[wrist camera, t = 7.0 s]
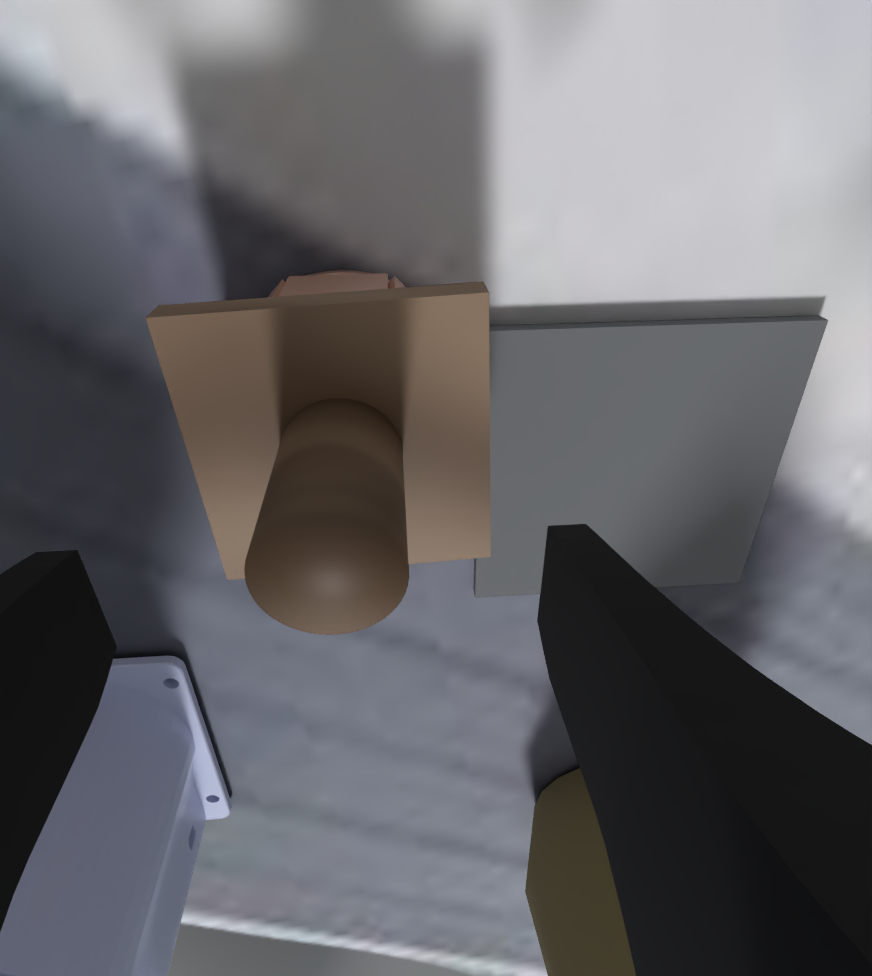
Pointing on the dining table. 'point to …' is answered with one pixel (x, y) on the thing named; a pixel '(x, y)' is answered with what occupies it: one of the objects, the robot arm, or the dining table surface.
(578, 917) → the squeeze bottle
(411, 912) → the dining table surface
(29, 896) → the robot arm
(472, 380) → the lid
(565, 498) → the coaster
